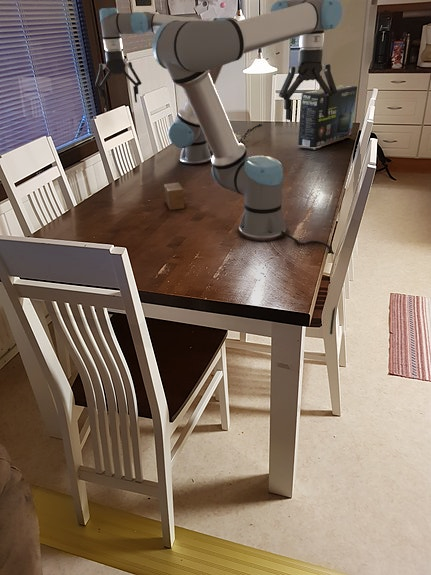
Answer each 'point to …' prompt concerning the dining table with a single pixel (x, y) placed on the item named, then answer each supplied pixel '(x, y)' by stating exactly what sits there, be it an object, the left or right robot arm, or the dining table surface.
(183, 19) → the left robot arm
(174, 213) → the dining table surface
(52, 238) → the dining table surface
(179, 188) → the brick
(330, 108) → the router box
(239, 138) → the fossil
